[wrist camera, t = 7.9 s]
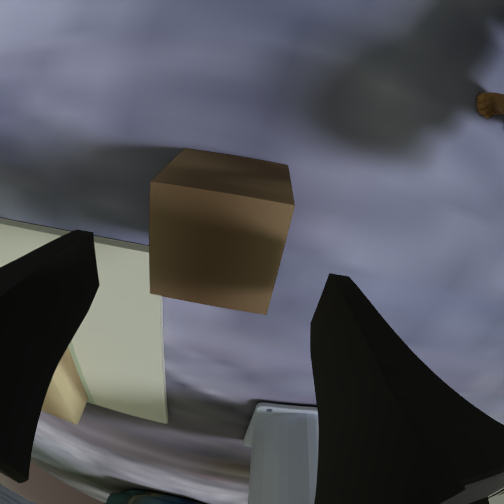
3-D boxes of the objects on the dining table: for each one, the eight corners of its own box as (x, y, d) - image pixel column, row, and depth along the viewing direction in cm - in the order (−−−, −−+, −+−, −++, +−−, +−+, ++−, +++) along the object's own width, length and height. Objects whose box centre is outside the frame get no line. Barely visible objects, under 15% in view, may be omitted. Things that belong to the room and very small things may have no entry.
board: (162, 248, 16) (159, 255, 15) (168, 418, 25) (167, 424, 25) (-22, 213, 15) (-28, 218, 15) (38, 377, 25) (35, 382, 24)
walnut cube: (287, 164, 14) (294, 205, 10) (268, 252, 16) (266, 314, 12) (185, 147, 13) (150, 181, 10) (178, 236, 16) (149, 293, 12)
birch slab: (63, 332, 19) (45, 363, 17) (88, 398, 24) (77, 424, 22) (13, 315, 19) (-6, 341, 17) (44, 382, 24) (32, 406, 21)
